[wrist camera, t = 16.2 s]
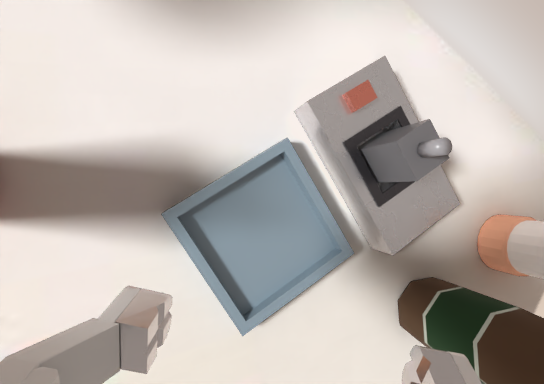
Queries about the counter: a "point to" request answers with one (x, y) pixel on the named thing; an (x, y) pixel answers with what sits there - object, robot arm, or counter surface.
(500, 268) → the pepper shaker
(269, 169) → the tray
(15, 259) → the counter surface
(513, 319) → the beer bottle
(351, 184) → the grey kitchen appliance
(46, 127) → the counter surface
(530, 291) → the counter surface
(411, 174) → the plug
